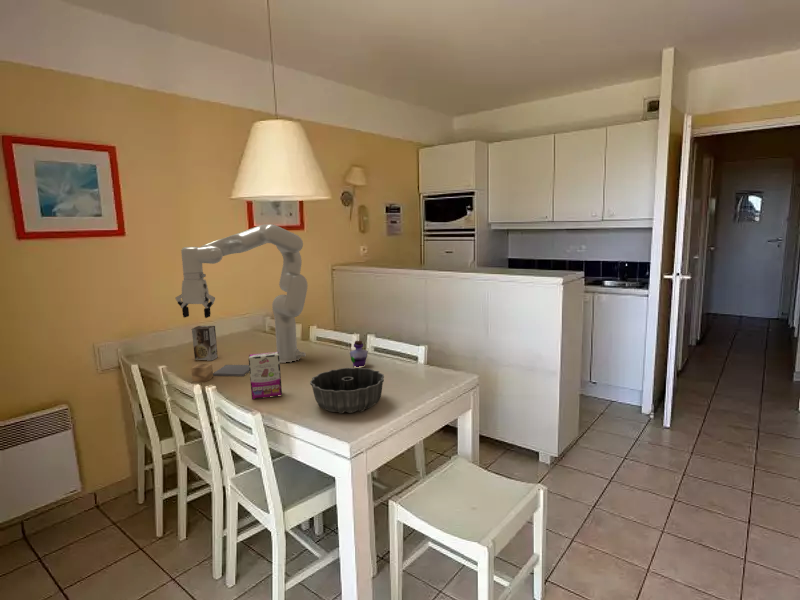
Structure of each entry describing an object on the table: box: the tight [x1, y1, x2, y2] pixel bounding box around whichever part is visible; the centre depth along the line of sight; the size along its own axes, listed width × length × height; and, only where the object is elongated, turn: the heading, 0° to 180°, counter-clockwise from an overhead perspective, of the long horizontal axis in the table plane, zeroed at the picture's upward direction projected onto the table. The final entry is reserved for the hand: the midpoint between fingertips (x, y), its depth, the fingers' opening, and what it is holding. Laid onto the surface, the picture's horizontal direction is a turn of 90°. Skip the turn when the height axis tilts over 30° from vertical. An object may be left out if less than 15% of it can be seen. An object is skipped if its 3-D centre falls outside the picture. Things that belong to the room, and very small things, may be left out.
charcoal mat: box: [213, 364, 250, 377], centre depth 210 cm, size 14×13×1 cm
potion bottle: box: [349, 340, 369, 367], centre depth 213 cm, size 9×9×12 cm
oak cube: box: [190, 363, 214, 383], centre depth 200 cm, size 6×6×6 cm
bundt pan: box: [309, 367, 385, 414], centre depth 169 cm, size 26×26×10 cm
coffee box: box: [191, 325, 218, 362], centre depth 230 cm, size 9×6×16 cm
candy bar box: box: [248, 351, 283, 400], centre depth 178 cm, size 11×5×16 cm, turn 105°
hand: (196, 317), depth 198 cm, fingers open, 9 cm apart
